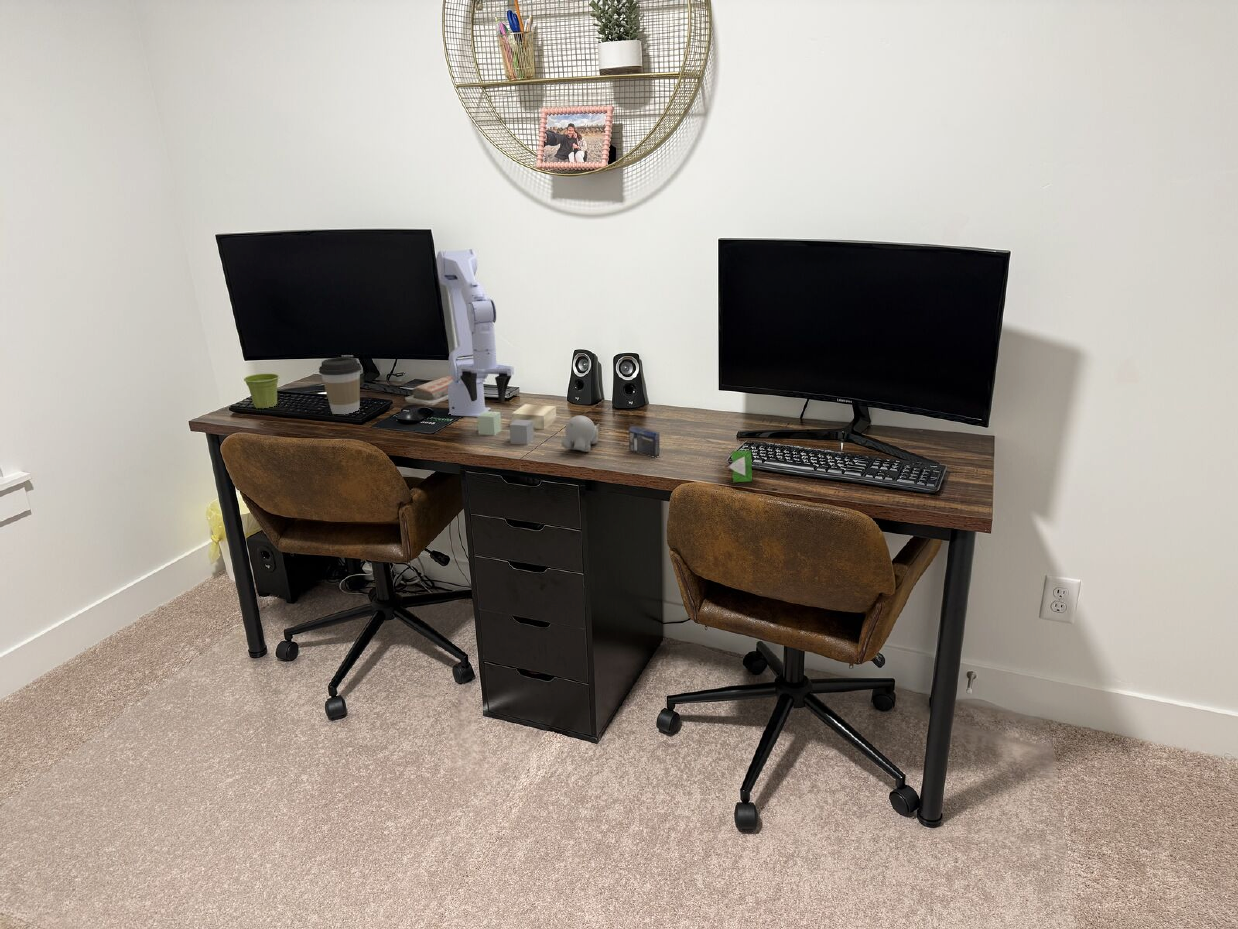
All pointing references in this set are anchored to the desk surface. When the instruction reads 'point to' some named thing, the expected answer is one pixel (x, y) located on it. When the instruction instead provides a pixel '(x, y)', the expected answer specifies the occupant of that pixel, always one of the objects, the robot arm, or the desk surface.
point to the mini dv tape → (644, 441)
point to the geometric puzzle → (741, 466)
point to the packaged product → (431, 392)
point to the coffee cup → (342, 384)
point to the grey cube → (521, 432)
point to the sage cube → (489, 423)
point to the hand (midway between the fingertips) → (487, 401)
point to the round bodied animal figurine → (580, 434)
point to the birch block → (536, 415)
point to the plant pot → (263, 389)
